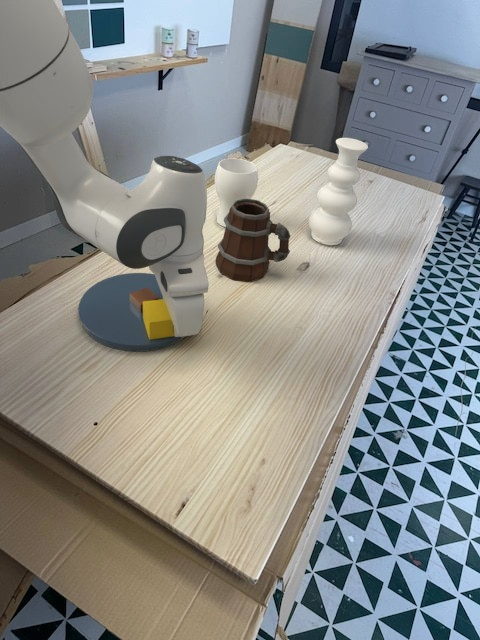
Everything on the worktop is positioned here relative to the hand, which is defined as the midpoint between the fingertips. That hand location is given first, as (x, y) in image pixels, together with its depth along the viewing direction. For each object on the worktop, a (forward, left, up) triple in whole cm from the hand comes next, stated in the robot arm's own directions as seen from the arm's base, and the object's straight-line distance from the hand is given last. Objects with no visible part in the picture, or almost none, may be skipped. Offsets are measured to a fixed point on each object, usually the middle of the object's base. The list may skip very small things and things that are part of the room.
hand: (173, 321), depth 85 cm
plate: (-5, +7, -3) cm, 9 cm away
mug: (+22, +17, -3) cm, 28 cm away
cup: (+25, +39, -3) cm, 46 cm away
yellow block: (-1, 0, -1) cm, 1 cm away
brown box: (-4, +7, -1) cm, 8 cm away
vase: (+47, +27, -3) cm, 54 cm away
